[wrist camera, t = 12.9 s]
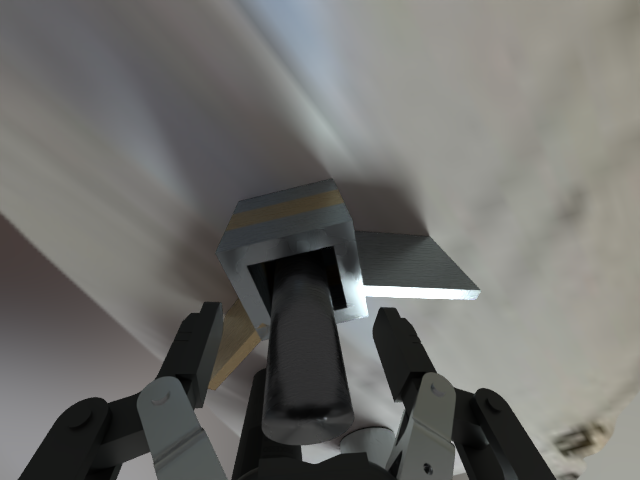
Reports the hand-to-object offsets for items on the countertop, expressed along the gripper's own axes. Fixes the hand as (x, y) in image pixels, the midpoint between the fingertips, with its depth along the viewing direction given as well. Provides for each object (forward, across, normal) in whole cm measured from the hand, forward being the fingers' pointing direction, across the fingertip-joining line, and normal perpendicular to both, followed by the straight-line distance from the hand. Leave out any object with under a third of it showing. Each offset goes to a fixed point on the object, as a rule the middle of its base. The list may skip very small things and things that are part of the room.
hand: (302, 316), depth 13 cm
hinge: (+9, -2, +2) cm, 9 cm away
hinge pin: (+9, 0, 0) cm, 9 cm away
